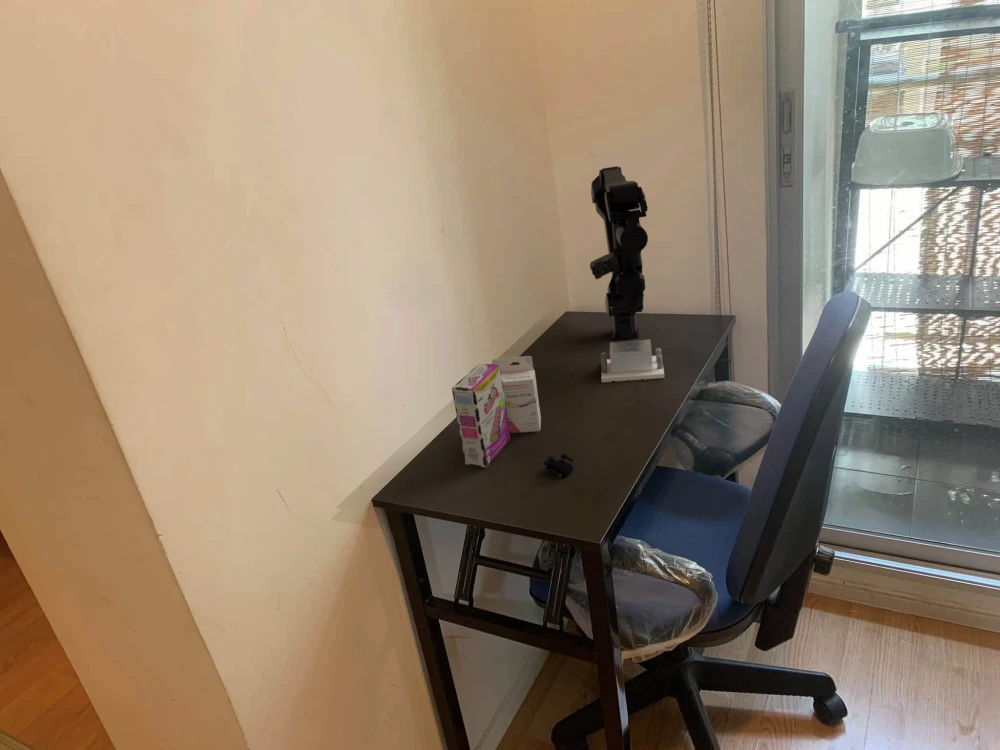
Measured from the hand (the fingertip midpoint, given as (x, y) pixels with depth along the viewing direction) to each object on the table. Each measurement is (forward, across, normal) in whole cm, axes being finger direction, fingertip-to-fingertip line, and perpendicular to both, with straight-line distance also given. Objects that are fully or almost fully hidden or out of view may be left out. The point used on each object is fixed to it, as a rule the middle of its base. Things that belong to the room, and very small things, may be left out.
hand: (631, 308), depth 159 cm
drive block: (+11, +8, -1) cm, 14 cm away
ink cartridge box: (+12, +31, -24) cm, 41 cm away
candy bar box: (+12, +40, -29) cm, 51 cm away
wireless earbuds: (+12, +48, -15) cm, 52 cm away
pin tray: (+12, +8, -1) cm, 14 cm away
